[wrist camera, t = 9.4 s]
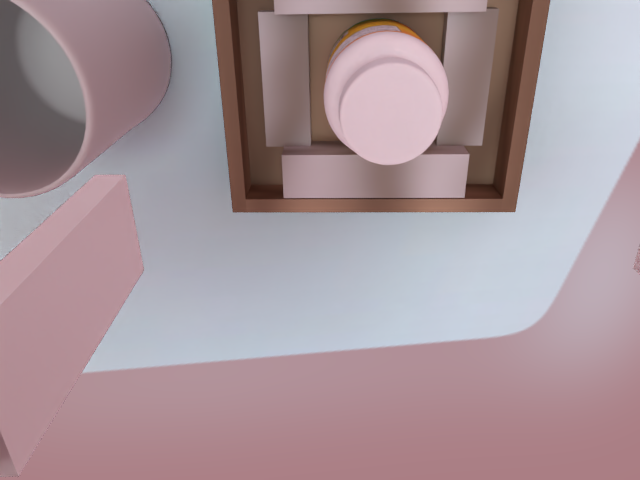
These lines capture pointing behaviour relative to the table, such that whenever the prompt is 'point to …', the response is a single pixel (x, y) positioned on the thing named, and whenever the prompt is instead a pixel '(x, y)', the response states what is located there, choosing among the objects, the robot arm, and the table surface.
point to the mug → (73, 84)
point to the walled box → (322, 143)
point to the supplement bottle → (384, 91)
